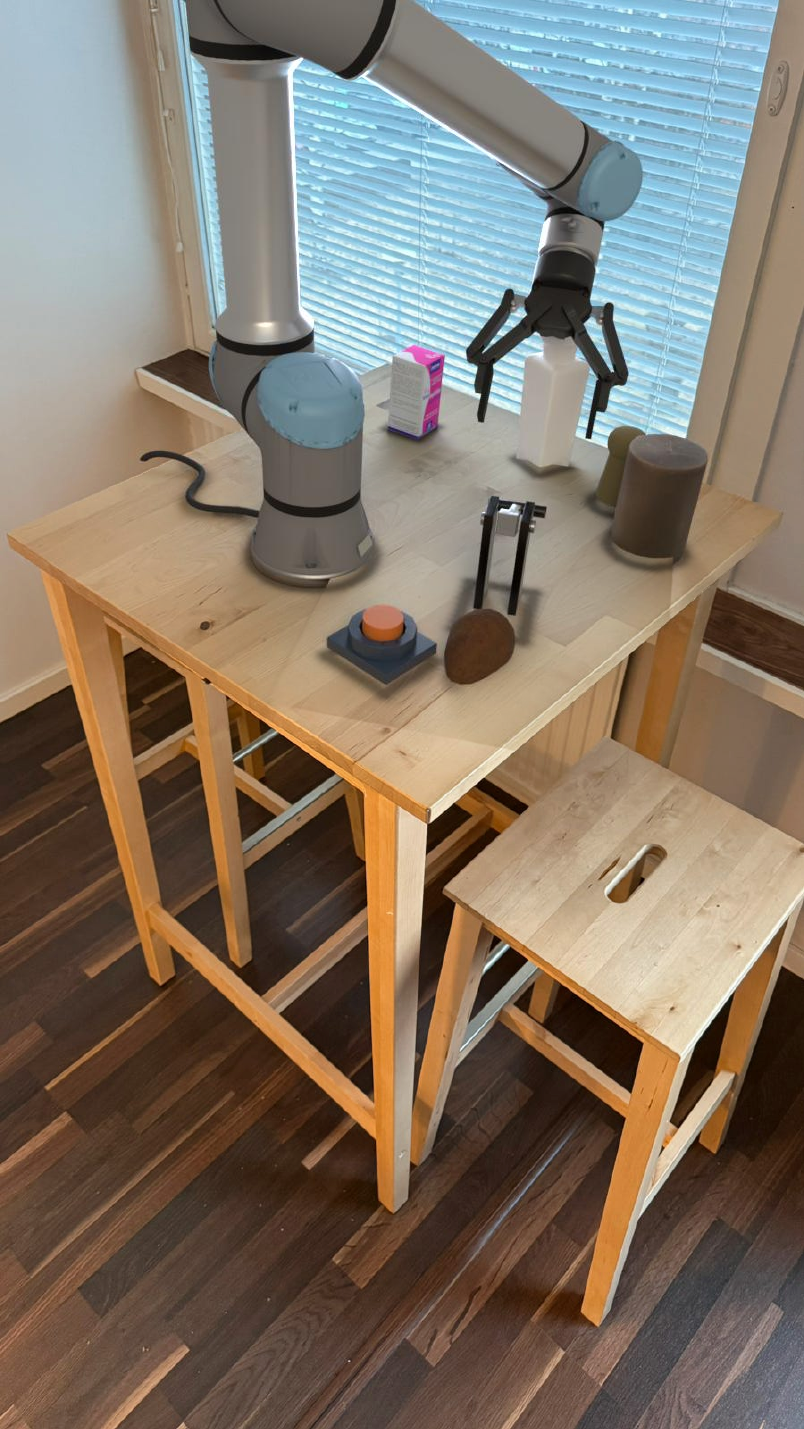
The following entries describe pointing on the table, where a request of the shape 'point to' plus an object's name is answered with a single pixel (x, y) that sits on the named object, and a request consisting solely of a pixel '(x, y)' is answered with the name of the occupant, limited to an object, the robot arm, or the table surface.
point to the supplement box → (415, 391)
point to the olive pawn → (616, 463)
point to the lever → (513, 516)
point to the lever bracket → (487, 548)
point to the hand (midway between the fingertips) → (534, 427)
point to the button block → (382, 649)
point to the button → (382, 623)
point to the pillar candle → (658, 495)
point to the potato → (478, 646)
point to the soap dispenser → (551, 402)
